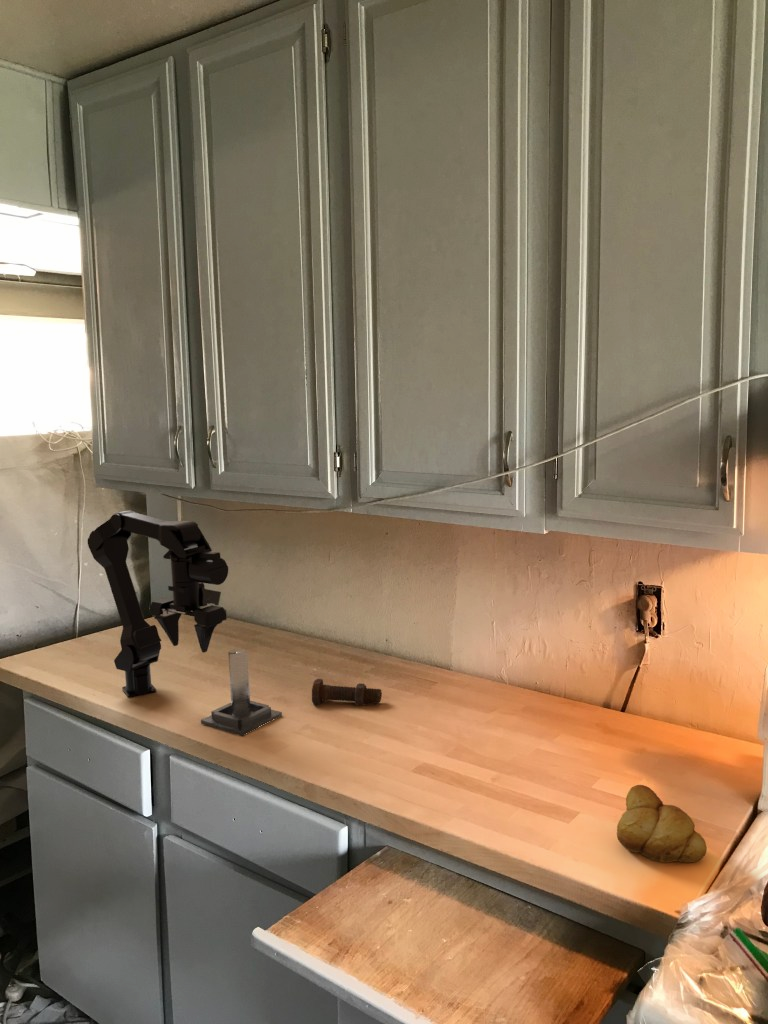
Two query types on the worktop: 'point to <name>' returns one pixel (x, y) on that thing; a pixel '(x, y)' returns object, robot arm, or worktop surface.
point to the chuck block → (241, 726)
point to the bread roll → (658, 829)
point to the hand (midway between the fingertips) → (190, 648)
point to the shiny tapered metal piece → (239, 683)
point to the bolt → (344, 693)
